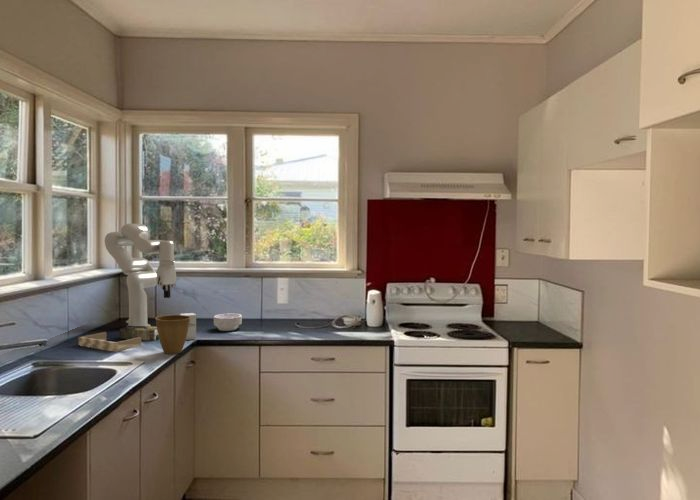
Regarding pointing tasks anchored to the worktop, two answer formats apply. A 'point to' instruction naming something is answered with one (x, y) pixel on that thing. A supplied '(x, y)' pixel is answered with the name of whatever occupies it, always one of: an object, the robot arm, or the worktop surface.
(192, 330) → the supplement box
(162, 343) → the plant pot
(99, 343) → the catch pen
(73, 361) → the worktop surface
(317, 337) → the worktop surface
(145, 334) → the juice carton
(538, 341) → the worktop surface
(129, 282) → the robot arm
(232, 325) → the paper bowls
